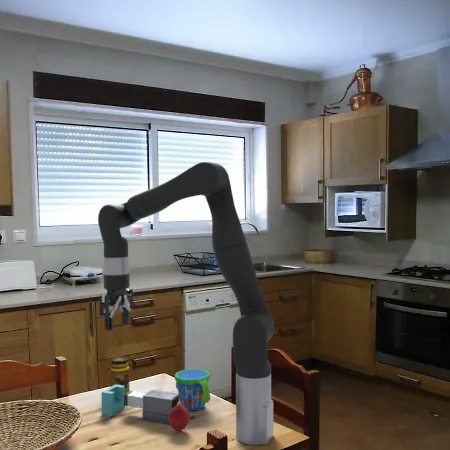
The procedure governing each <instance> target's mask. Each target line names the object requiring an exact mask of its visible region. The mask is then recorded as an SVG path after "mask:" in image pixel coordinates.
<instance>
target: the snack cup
mask: <svg viewBox="0 0 450 450" xmlns="http://www.w3.org/2000/svg"><path fill="white" fill-rule="evenodd" d="M210 378H211V374H210V373H209V371H207V370H205V369H199V368H189V369H183V370H179V371H177V372H176V373H175V374H174V380H175V388H176V390H177V393H178V394H179V402H181V403H182V404H181V405H182V406H183V407H185V408H186V409H187V410H188V412H189V411H199V410H201V409H203V408H204V407H205V406H206V404H207V403H209V402H210V401H211V393H210V390H209V381H210Z"/></svg>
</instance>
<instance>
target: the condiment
mask: <svg viewBox="0 0 450 450" xmlns="http://www.w3.org/2000/svg"><path fill="white" fill-rule="evenodd" d="M110 362H111V367H110V374H109V375H110V378H109V379H110V387H112V386H113V385H122V386H125V394H126V393H127V392H129V391H130V367H129V359H128V357H125V356H124V357H123V356H119V357H113V358H112V359H111V361H110ZM101 399H102V396H101Z"/></svg>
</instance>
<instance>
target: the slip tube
mask: <svg viewBox="0 0 450 450" xmlns="http://www.w3.org/2000/svg"><path fill="white" fill-rule="evenodd" d="M146 393H147V392H140V391H139V392H137V391H134V390H129V392H127V393H126V394H124V406H125V407H131V408H137V409H143V395H145V394H146Z"/></svg>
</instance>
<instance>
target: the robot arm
mask: <svg viewBox="0 0 450 450" xmlns="http://www.w3.org/2000/svg"><path fill="white" fill-rule="evenodd" d="M232 191H233V190H232V185H231V180H230V176H229V174H228V171H227V170H226V168H225V167H224V166H222V164H220V163H216V162H212V161H206V160H205V161H199V162H197V163H196V164H194V165H192V166H191V167H188V168H187V169H186V170H184V171H183V172H181V173H180V174H179V175H178V174H177V176H175V177H174V178H171V179H169V180H167V181H165V182H163V183H160V184H159V185H157V186H154V187H151V188H149V189H147V190H144V191H142V192H140V193H137V194H135V195H133V196H131V197H130V198H128V199H127V201H126V202H124V203H121V204H114V203H113V204H105V205H103V206H101V207H100V209H99V211H98V216H97V222H98V228H99V231H100V236H101V239H102V242H103V263H102V267H103V269H102V271H103V272H102V273H103V275H102V276H103V277H102V278H103V288H104V290H106V295H103V294H100V295H99V310H98V311H99V314H98V315H99V316H100V317H102V318H104V329H105V331H107V332H108V331H110V332H111V331H114V318H113V316H114V313H115V311H117V309H118V308H120V310H121V325H124V326H125V325H129V324H130V312H131V310H132V309H134V305H135V304H134V290H133V289H132V288H130V287H131V283H130V281H131V279H130V261H129V241H128V239H127V238H126V237H125V236H122V233H121V229H123V228H127V227H129V226H132V225H133V224H136V223H137V222H139V221H140V220H142V219H146V218H148V217H150V216H153V215H155V214H158V213H159V212H162V211H163V210H165V209H167V208H168V207H170V206H171V205H173V204H175V203H177V202H178V201H182V200H185V199H189V198H192V197H196V196H204V197H205V199H206V202H207V205H208V207H209V212H210V215H211V245H212V250H213V253H214V256H215V260H216V263H217V267H218V269H219V271H220V273H221V275H222V277H223V279H224V280H225V282H226V283H227V284H228V286H229V287H230V289H231V291H232V292H233V293H234V296H235V299H236V302H237V306H238V308H239V313H240V317H239V318H238V319H237V320H236V321H235V323H234V324H233V329H232V351H233V352H232V357H233V363H234V366H235V396H236V397H235V437H236V439H237V441H239V442H241V443H242V444H245V445H250V446H251V445H252V446H260V445H268V444H269V442H271V439H272V438H273V437H274V400H273V399H272V364H271V362H270V361H269V360H268V342H270V340H271V339H272V338H273V335H274V332H275V325H274V320H273V317H272V315H271V313H270V311H269V307H268V306H267V303H266V301H265V298H264V297H263V294H262V293H263V292H262V291H261V287H260V284H259V281H258V277H257V273H256V270H255V267H254V264H253V259H252V256H251V252H250V249H249V245H248V243H247V239H246V236H245V234H244V231H243V227H242V224H241V221H240V218H239V215H238V212H237V209H236V206H235V200H234V197H233V196H234V195H233V192H232Z"/></svg>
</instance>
